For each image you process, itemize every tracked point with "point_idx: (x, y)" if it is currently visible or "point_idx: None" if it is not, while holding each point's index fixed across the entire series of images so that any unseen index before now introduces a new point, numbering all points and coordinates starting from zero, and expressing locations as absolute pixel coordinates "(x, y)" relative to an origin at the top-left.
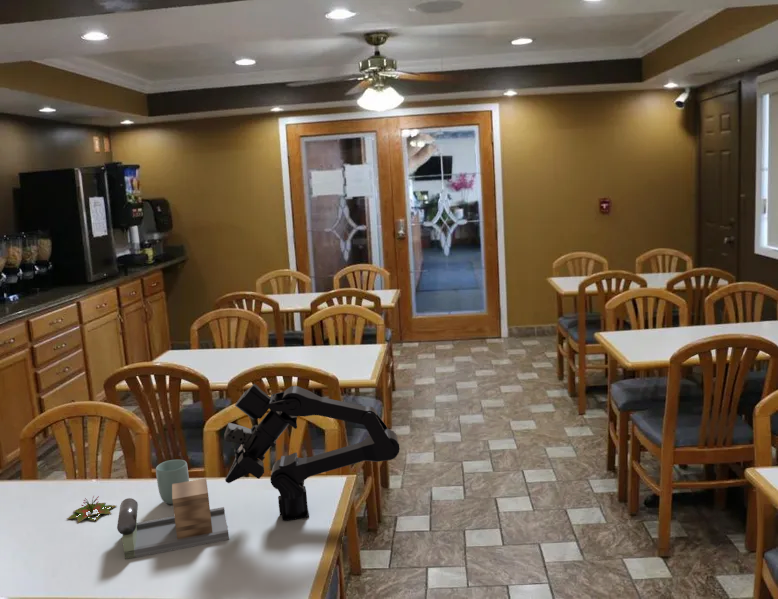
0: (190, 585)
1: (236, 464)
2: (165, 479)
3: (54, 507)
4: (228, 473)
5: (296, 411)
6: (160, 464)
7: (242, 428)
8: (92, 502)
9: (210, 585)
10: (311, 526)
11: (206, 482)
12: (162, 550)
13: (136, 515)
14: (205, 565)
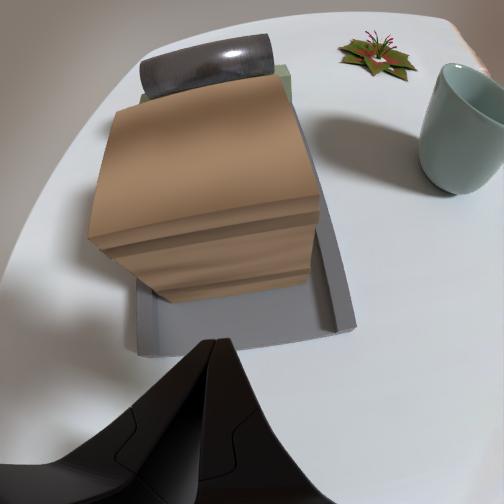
0: (17, 270)
1: (56, 464)
2: (433, 96)
3: (393, 33)
4: (224, 366)
5: None
6: (482, 76)
7: None
8: (385, 45)
9: (4, 306)
10: None
11: (242, 204)
12: None
13: (193, 75)
14: (55, 294)
